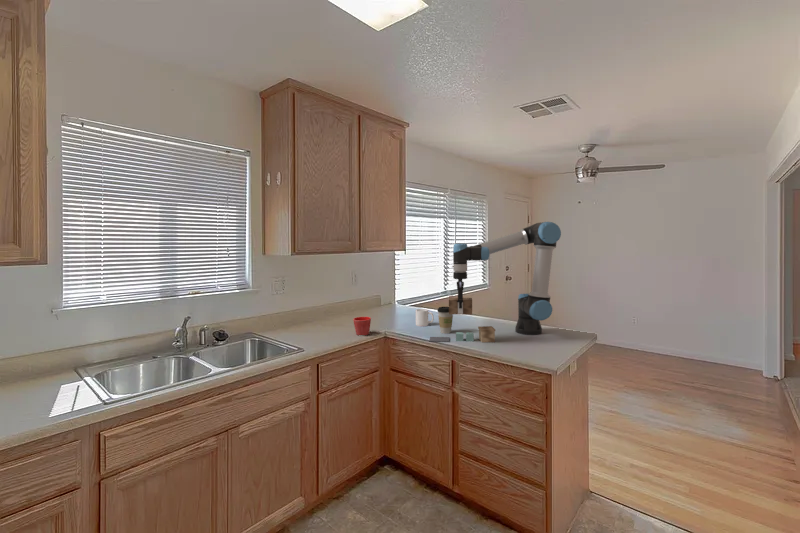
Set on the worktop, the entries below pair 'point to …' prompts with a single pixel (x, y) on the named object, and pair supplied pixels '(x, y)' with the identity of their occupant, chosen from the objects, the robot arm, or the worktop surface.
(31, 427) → the worktop surface
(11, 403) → the worktop surface
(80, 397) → the worktop surface
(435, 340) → the mat
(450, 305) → the brown wooden box
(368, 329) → the flower pot
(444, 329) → the coffee cup
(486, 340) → the oak box
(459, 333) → the cube
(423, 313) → the cup
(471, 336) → the cube
